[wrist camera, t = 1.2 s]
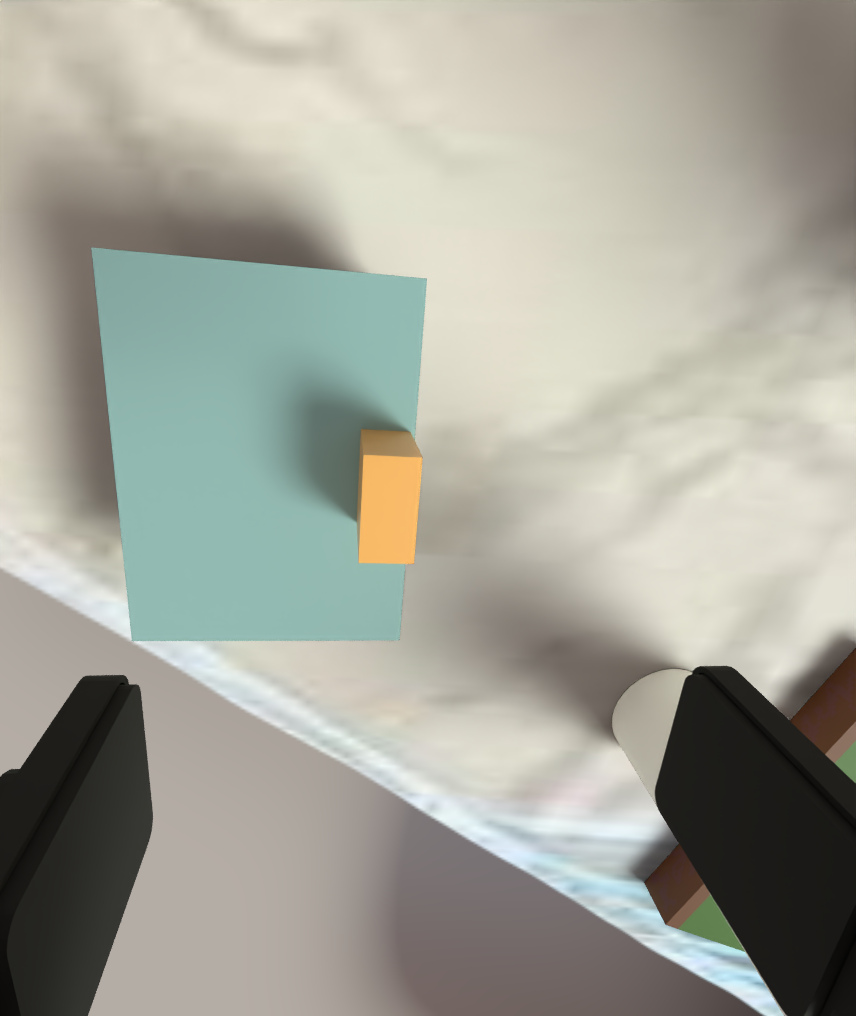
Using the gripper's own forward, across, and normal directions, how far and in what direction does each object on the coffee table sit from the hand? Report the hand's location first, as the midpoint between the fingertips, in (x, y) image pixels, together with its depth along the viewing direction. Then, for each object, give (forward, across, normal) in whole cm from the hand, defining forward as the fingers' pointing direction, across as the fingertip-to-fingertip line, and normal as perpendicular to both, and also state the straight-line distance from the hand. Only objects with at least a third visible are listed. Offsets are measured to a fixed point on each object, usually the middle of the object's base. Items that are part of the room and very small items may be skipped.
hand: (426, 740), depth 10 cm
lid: (+16, +4, 0) cm, 17 cm away
